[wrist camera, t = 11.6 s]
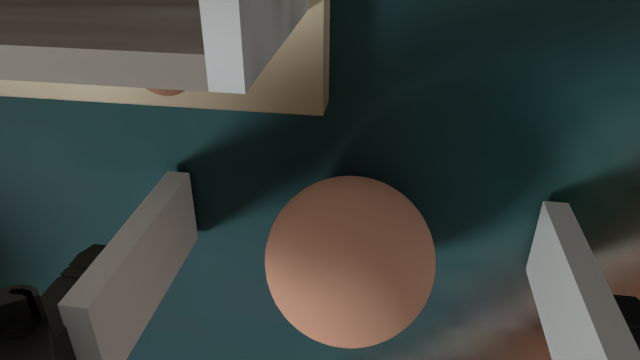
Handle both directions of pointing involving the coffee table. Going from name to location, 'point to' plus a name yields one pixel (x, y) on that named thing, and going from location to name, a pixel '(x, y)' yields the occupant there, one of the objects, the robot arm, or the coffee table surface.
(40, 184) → the coffee table surface
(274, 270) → the terracotta ball
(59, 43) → the rack
